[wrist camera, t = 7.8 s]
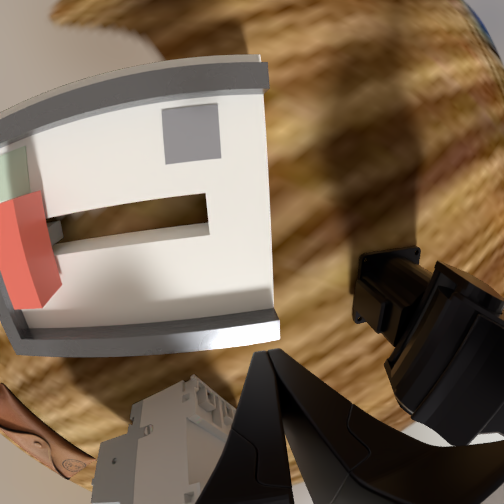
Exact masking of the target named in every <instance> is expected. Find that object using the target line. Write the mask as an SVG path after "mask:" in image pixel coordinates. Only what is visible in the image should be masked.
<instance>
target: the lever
mask: <svg viewBox="0 0 504 504" xmlns="http://www.w3.org/2000/svg"><path fill="white" fill-rule="evenodd" d="M62 238H64V236H63V232H62V227H61V222H60V221H55V222H50V223H46V218H45V213H44V208H43V202H42V195H41V190H39V191H36V192H32V193H29V194H25V195H22V196H19V197H15V198H12V199H9V200H7V201H4V202H1V203H0V271H1V274H2V277H3V280H4V283H5V286H6V289H7V292H8V294H9V297H10V300H11V302H12V305H13V308H14V310H17V309H38V308H43V307H44V306H45V304H46V303H47V302H48V301H49V300H50V299H51V297H52V296H53V295H54V294H55V293H56V292H57V290H58V289H59V288H60V287H61V286H62V282H61V278H60V275H59V272H58V268H57V265H56V261H55V257H54V253H53V250H52V246H53V245H54V244H55V243H57V242H58V241H59V240H61V239H62Z"/></svg>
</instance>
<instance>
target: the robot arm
mask: <svg viewBox="0 0 504 504" xmlns="http://www.w3.org/2000/svg"><path fill="white" fill-rule="evenodd" d="M415 251H416V252H415ZM420 253H421V250H420V248H419V247H417V246H410V247H403V248H397V249H390V250H383V251H376V252H369V253H364V254H362V255H361V256H360V259H359V269H358V279H357V281H356V288H355V297H354V305H353V307H354V313H353V320H354V322H355V323H357V324H360V323H364V322H367V323H368V324H369V325H370V326H371V327H372V328H373V329H374V331H375V332H376V333H378V334H379V333H382V334H383V335H384V337H385V338H386V339H387V340H388V341H389V342H390V343H391V344H392V345H393V346H394V347H395V349H394V351H393V352H392V354H391V356H390V357H389V358H387V360H386V361H385V363H384V367H385V369H386V372H387V375H388V378H389V380H390V383H391V386H392V389H393V392H394V395H395V397H396V400H397V402H398V404H399V405H400V407H401V408H402V409H403V410H404V411H406V412H407V413H408V414H410V415H411V419H412V420H415V421H417V422H420V423H422V424H424V425H426V426H428V427H429V428H431V429H433V430H434V431H435V432H437V433H438V434H439V435H440V436H441V437H442V438H444V439H445V440H446V441H447V442H448V443H449V444H451V445H453V446H450V447H439V446H433V445H429V444H426V443H423V442H421V441H419V440H416V439H414V438H412V437H410V436H408V435H406V434H404V433H402V432H400V431H398V430H396V429H394V428H392V427H390V426H388V425H386V424H384V423H383V422H381V421H379V420H377V419H375V418H374V417H372V416H371V415H369V414H368V413H366V412H365V411H363V410H362V409H360V408H359V407H357V406H356V405H355V404H352V403H351V402H350V401H349V400H347V399H346V398H345V397H343V396H342V395H340V394H339V393H338V392H336V391H335V390H334V389H332V388H331V387H330V386H328V385H327V384H326V383H324V382H323V381H322V380H320V379H319V378H318V377H316V376H315V375H314V374H312V373H311V372H310V371H308V370H307V369H306V368H305V367H303V366H302V365H301V364H299V363H298V362H297V361H296V360H294V359H293V358H292V357H290V356H289V355H288V354H287V353H285V352H284V351H283V350H282V349H280V348H277V349H271V350H268V351H258V352H254V353H253V356H252V360H251V363H250V366H249V370H248V373H247V376H246V380H245V383H244V387H243V390H242V393H241V396H240V400H239V403H238V406H237V409H236V413H235V416H234V419H233V422H232V426H231V430H230V431H229V434H228V438H227V441H226V443H225V446H224V449H223V451H222V454H221V456H220V458H219V460H218V462H217V464H216V466H215V468H214V470H213V472H212V474H211V476H210V478H209V479H208V481H207V483H206V485H205V487H204V488H203V490H202V492H201V494H200V495H199V497H198V499H197V501H196V502H195V504H294V498H293V492H292V484H291V476H290V469H289V462H288V454H287V447H286V440H285V435H286V438H287V440H288V443H289V445H290V448H291V450H292V453H293V455H294V457H295V460H296V462H297V465H298V467H299V470H300V472H301V475H302V477H303V479H304V482H305V484H306V487H307V489H308V491H309V494H310V496H311V498H312V501H313V503H314V504H504V440H501V441H496V442H491V443H483V444H475V445H469V444H470V443H471V441H472V440H473V439H474V438H475V437H476V436H477V435H478V434H488V433H489V434H490V433H499V434H500V435H502V436H504V310H503V309H504V298H503V297H501V296H500V295H499V294H498V293H497V292H496V291H495V290H493V289H492V288H491V287H490V286H489V285H488V284H486V283H484V282H483V281H481V280H479V279H477V278H476V277H474V276H472V275H470V274H469V273H467V272H464V271H462V270H460V269H457V268H455V267H452V266H450V265H448V264H445V263H443V262H440V261H438V260H437V262H436V265H435V267H434V268H435V270H434V272H433V274H432V273H431V272H429V271H428V270H426V269H424V268H423V267H421V266H420V265H419V259H420ZM366 258H367V260H366V261H365V262H364V260H365V259H366ZM359 317H360V318H359ZM358 318H359V319H358Z"/></svg>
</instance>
